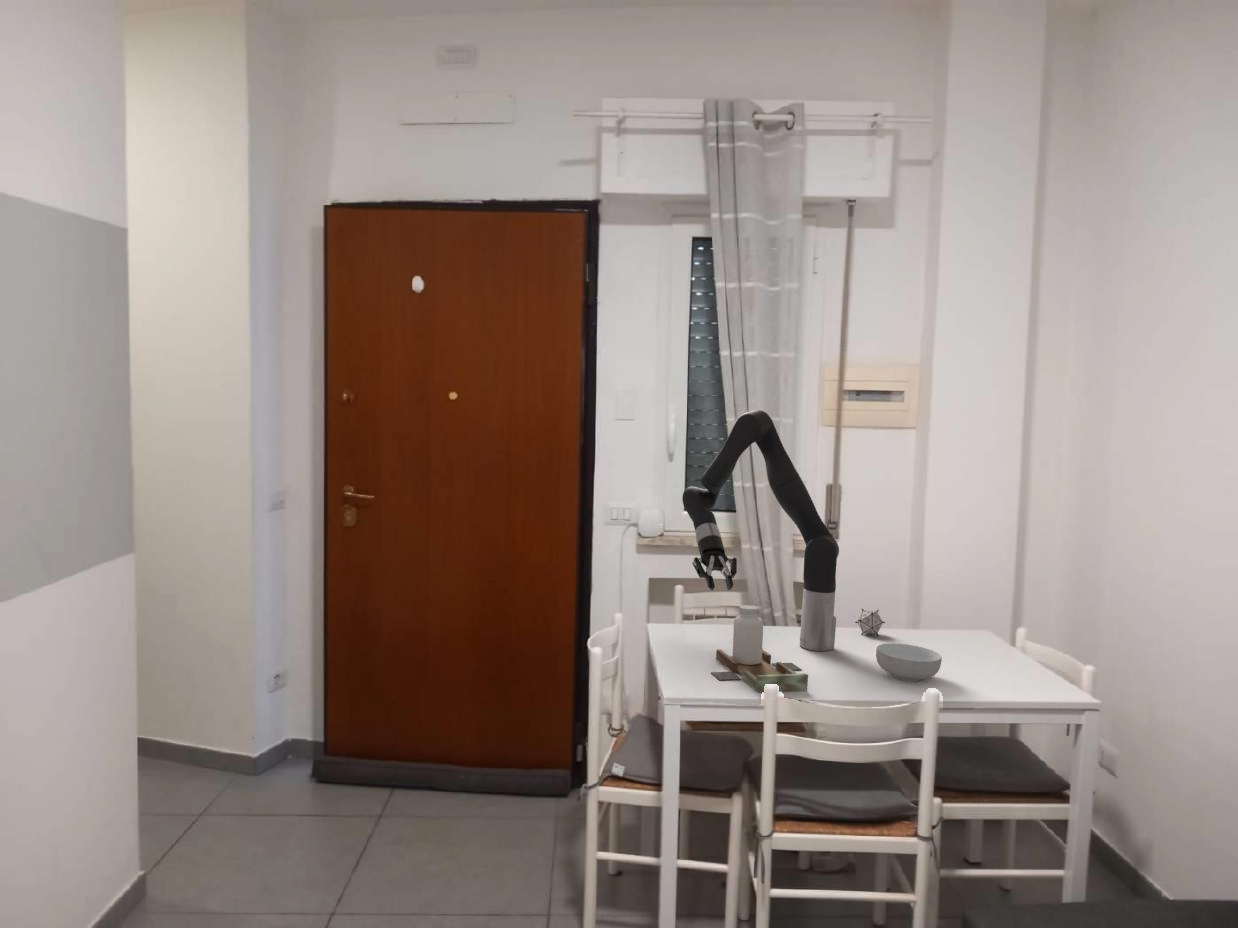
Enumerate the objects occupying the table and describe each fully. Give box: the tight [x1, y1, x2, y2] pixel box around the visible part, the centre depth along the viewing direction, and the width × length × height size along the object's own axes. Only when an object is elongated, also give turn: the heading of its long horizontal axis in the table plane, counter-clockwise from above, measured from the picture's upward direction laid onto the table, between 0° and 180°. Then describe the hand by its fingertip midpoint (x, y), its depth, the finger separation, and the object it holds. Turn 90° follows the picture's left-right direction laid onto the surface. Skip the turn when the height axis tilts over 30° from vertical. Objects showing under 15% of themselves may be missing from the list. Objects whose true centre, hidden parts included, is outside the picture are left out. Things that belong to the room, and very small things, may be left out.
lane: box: [710, 648, 809, 694], centre depth 231 cm, size 26×28×4 cm
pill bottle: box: [732, 604, 764, 665], centre depth 239 cm, size 8×8×15 cm
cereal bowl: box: [875, 642, 943, 683], centre depth 235 cm, size 17×17×7 cm
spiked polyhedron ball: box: [854, 608, 886, 637], centre depth 278 cm, size 9×8×10 cm
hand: (721, 588), depth 258 cm, fingers open, 5 cm apart
